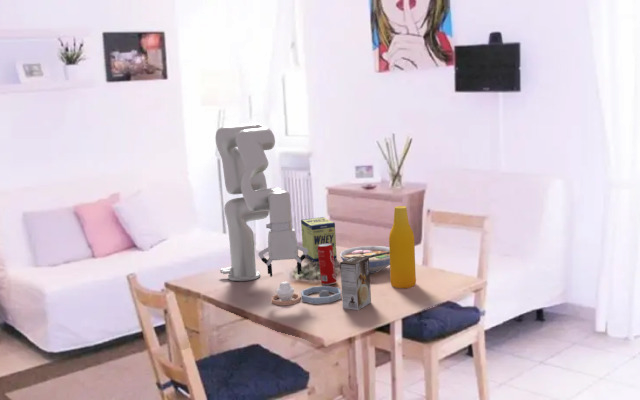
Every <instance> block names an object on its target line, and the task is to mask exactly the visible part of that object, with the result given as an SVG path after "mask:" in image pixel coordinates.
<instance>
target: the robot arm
mask: <svg viewBox="0 0 640 400" xmlns="http://www.w3.org/2000/svg"><path fill="white" fill-rule="evenodd" d="M214 138H215V144H216V147H217V151H218V153H219V155H220V159H221V162H222V168H223V178H224V186H225V188H226V192H227V193H228V194H229V195H232V196H233V195H242V196H243V197H242V196H241V197H236V198H231V199H229V200H227V201H226V203H225V204H224V214H225V218H226V225H227V229H228V239H229V253H230V254H229V255H230V264H231V265H230V266H228V267H226V268H225V267H222V268H221V267H220V270H219V271H220V272H219V273H220V274H223V275H227V274H228V278H227V279H228V280H230V281H233V282H246V281H247V282H249V281H253V280H254V281H255V280H256V279H259V278H260V277H261V272H260V271H258V270H257V267H256V265H257V264H256V252H255V251H256V249H255V240H254V239H255V237H254V232H253V229H252V228H251V227H250V226H249V225H248V223H247V222H251V221H259V220H263V219H266V218H267V217H268V216H269V223H268V224H265V227H266V229H270V230H269V231H268V234H267V237H268V238H267V247H266V248H264V249H263V250H261V251H259V252H258V257H259V258H260V260H261V262H263V263H264V264H265V265H266V266H267V274H268V275H269V277H270V278H271V277H273V267H272V263H273V261H285V260H295V261H296V265H297V266H296V268H297V275H301V274H300V273H301V272H302V271H303V270H302V262H304V260H305V259H306V258H307V257H306V255H307V253H308V249H306V248H304V247H303V245H302V246H301V245H299V244H298V240H297V239H298V238H297V234H296V231H295V230H296V229H295V228H293V217H292V206H291V205H292V204H291V193H290V192H289V191H288V190H284V189H283V188H281V187H271V188H268V187H267V186H268V185H267V180H266V179H267V178H266V175H265V173H264V172H265V171H266V170H267V169H268V167H269V161H268V158H267V156H266V153H265V151H269V150H272V149H274V147H275V144H276V138H275V135H274V132H273V131H272V130H271V129H270V128H269V127H268V126H265V125H263V124H261V123H257V122H251V123H241V124H240V123H239V124H237V123H236V124H229V125H224V126H221V127H219V128H218V129H217V130H216V132H215V137H214ZM299 251H301V252H302V254H301V256H299ZM267 253H268V259H267V258H266V257H265V256H264V255H265V254H267Z"/></svg>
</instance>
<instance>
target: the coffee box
mask: <svg viewBox="0 0 640 400" xmlns="http://www.w3.org/2000/svg"><path fill="white" fill-rule="evenodd" d="M339 267H340V284H341V300H342V301H341V303H342V309H346V310H354V311H360V310H361V309H363V308H364V307H366V306H369V304H371V303H372V294H371V293H372V292H371V291H372V289H371V275H370V274H371V273H370V271H369V257H357V256H353V257H350V258H348V259H346V260H344V261H343V260H342V261H341V262H339Z"/></svg>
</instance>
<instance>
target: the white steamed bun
mask: <svg viewBox="0 0 640 400" xmlns="http://www.w3.org/2000/svg"><path fill="white" fill-rule="evenodd" d="M275 291H276V295H277V294H278V296H279V298H278V299H280V301H291V300H292V298H293V297H292V296H293V293H295V288H294V287H292V286H291V283H290V282H289V281H282V282H280V284H279V287H278V288H276V290H275Z"/></svg>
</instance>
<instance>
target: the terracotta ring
mask: <svg viewBox="0 0 640 400" xmlns="http://www.w3.org/2000/svg"><path fill="white" fill-rule="evenodd" d="M270 298H271V299H270V300H271V301H270V302H271V304H273V305H277V306H289V305H290V306H292V305H294V304H297V303H299V302H301V293H295V292H294V293H293V296H292V298H294V299H291V300H290V301H281V300H277V299H280V298H279V296H278V294H277V293H276V294H275V295H271V297H270Z"/></svg>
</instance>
